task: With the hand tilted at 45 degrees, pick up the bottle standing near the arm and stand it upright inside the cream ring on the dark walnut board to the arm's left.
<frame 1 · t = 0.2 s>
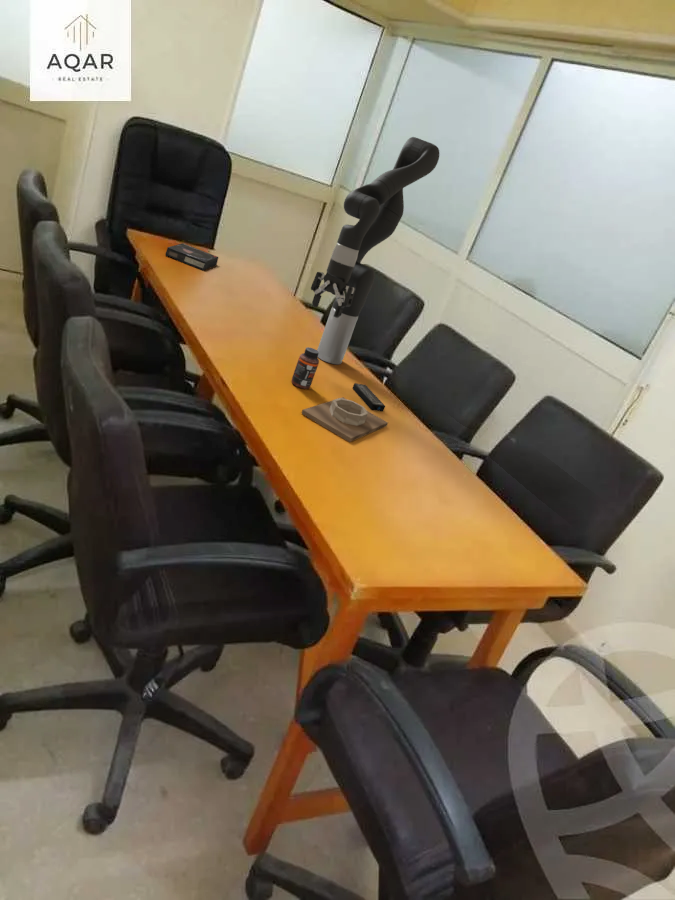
hand: (325, 311, 212), 18 cm above the table, tool pointing down, fingers open, 8 cm apart
supplement bottle: (300, 385, 202), on the table
ring stand: (345, 420, 190), on the table
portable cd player: (191, 262, 285), on the table
multiport hub: (366, 401, 210), on the table
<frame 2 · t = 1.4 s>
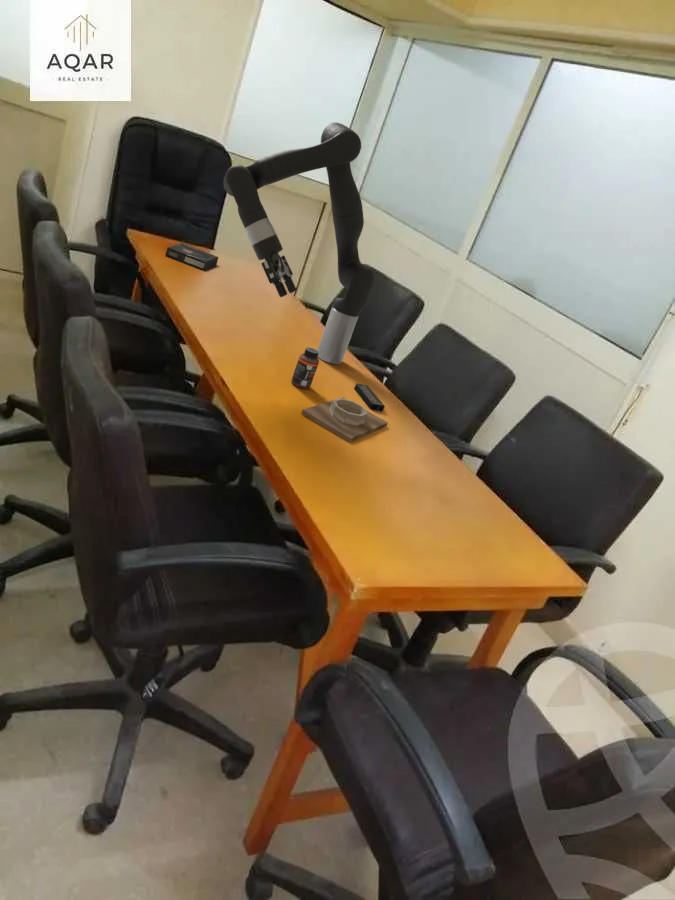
hand: (288, 293, 193), 24 cm above the table, tool tilted 45°, fingers open, 8 cm apart
nothing on the table moved.
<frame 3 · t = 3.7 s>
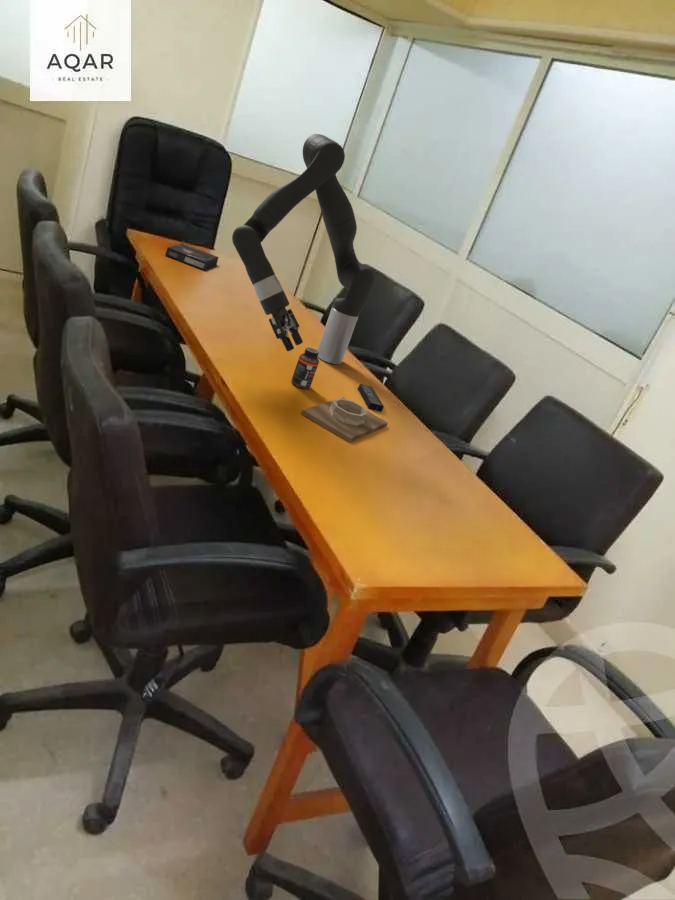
hand: (295, 347, 198), 10 cm above the table, tool tilted 45°, fingers open, 8 cm apart
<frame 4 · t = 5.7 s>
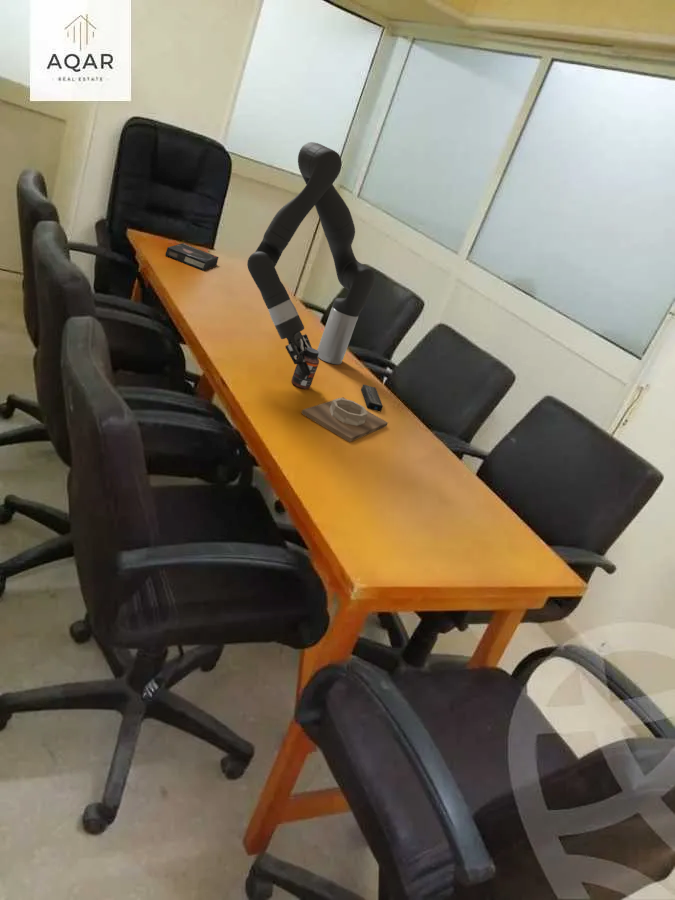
hand: (311, 372, 199), 5 cm above the table, tool tilted 45°, fingers closed on supplement bottle, 6 cm apart
supplement bottle: (300, 385, 202), on the table, touching gripper
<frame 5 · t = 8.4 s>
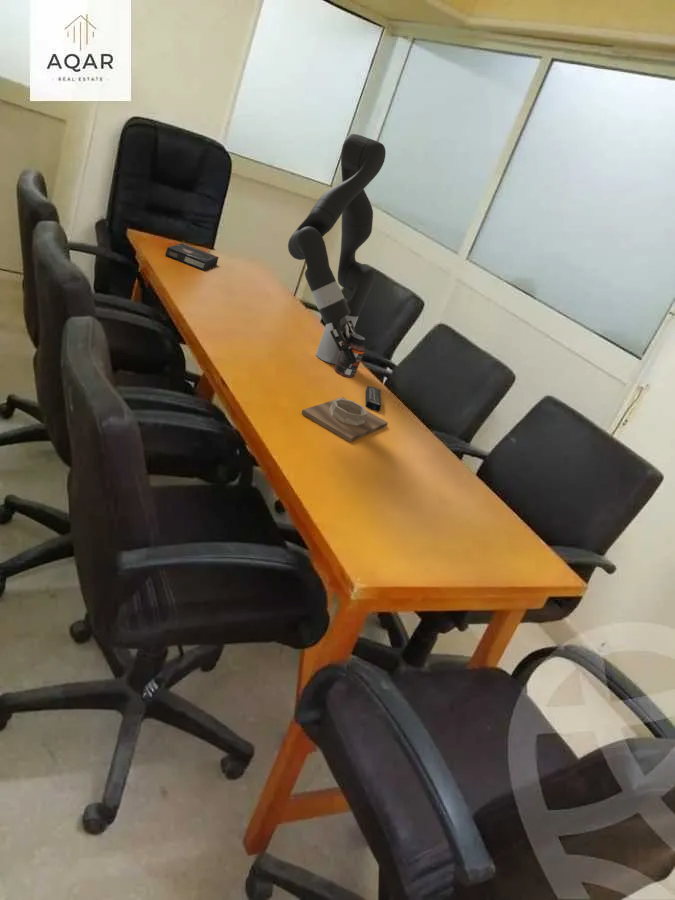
hand: (356, 360, 185), 16 cm above the table, tool tilted 45°, fingers closed on supplement bottle, 6 cm apart
supplement bottle: (343, 374, 187), point 11 cm above the table, touching gripper
when the fingers open (7 cm above the table, at t = 11.4 s): supplement bottle drops 1 cm, resting on ring stand.
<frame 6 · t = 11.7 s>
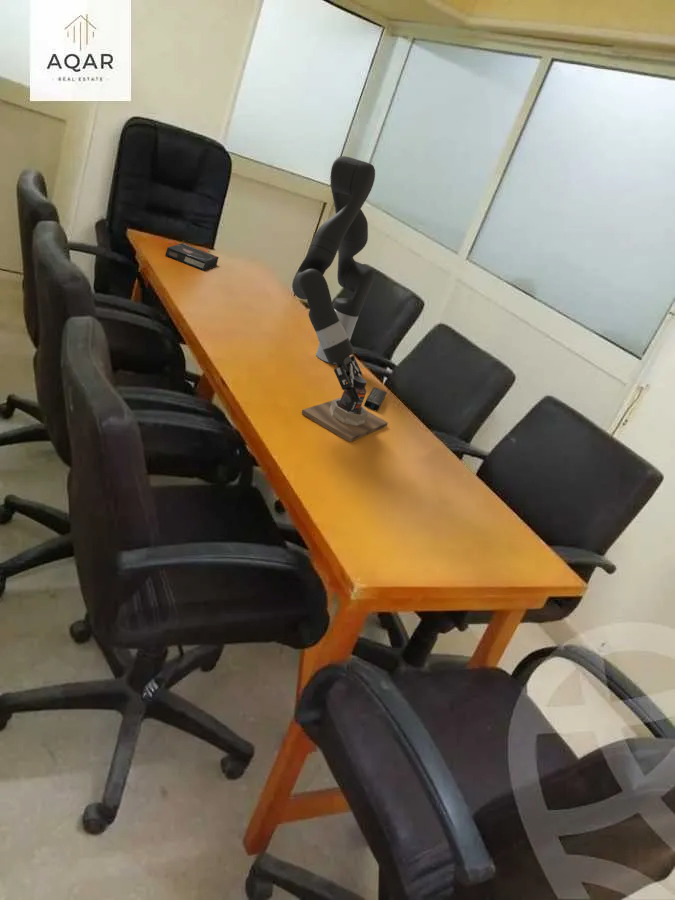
hand: (359, 396, 186), 8 cm above the table, tool tilted 45°, fingers open, 8 cm apart
supplement bottle: (345, 416, 189), point 1 cm above the table, touching ring stand
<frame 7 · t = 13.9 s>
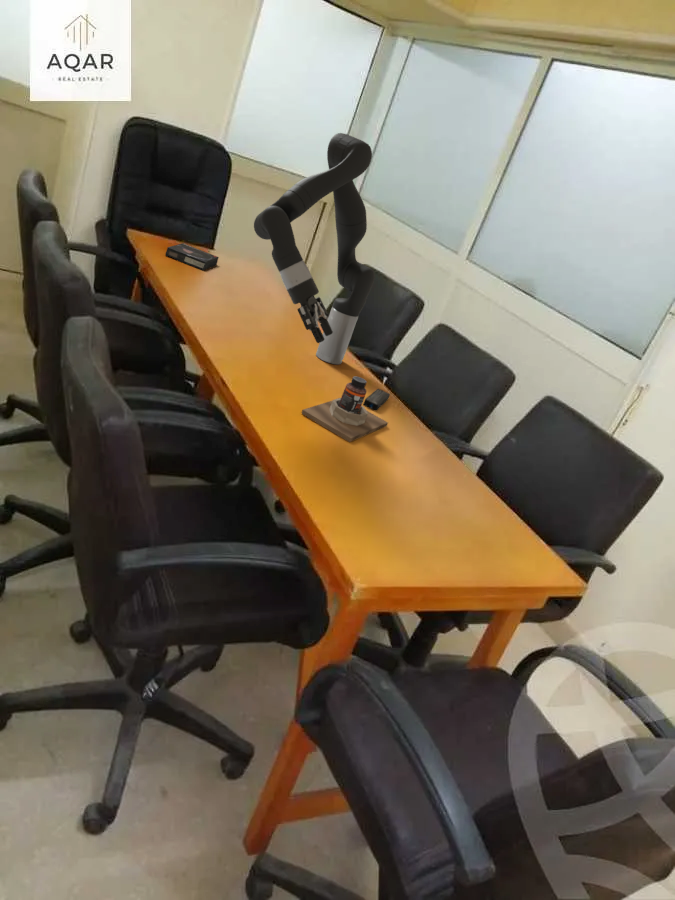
hand: (325, 338, 184), 19 cm above the table, tool tilted 45°, fingers open, 8 cm apart
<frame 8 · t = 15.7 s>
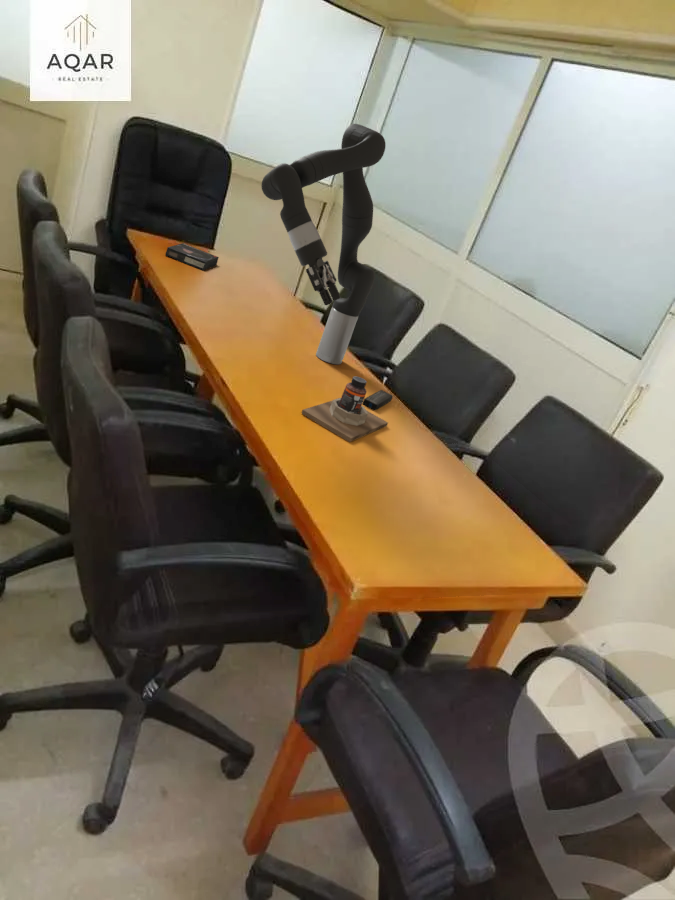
hand: (333, 301, 181), 29 cm above the table, tool tilted 45°, fingers open, 8 cm apart
at the end: supplement bottle 0.3 cm from the ring stand (horizontally); supplement bottle tilted 0°; the gripper is holding nothing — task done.
